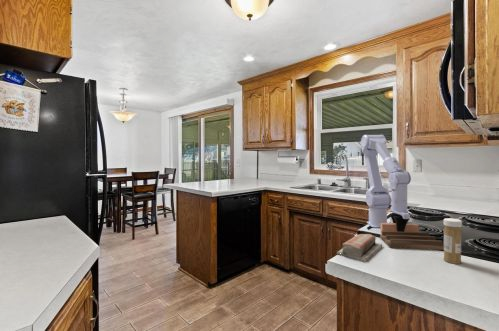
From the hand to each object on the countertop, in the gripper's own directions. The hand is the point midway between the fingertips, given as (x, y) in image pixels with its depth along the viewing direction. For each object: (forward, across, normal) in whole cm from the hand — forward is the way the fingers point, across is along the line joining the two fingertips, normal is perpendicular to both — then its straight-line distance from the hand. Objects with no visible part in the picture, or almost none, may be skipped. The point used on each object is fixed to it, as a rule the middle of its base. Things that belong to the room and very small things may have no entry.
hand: (399, 231), depth 108 cm
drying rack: (+1, +10, 0) cm, 11 cm away
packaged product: (+2, +20, -20) cm, 28 cm away
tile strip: (+2, 0, 0) cm, 2 cm away
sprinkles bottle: (+2, +26, +6) cm, 27 cm away
